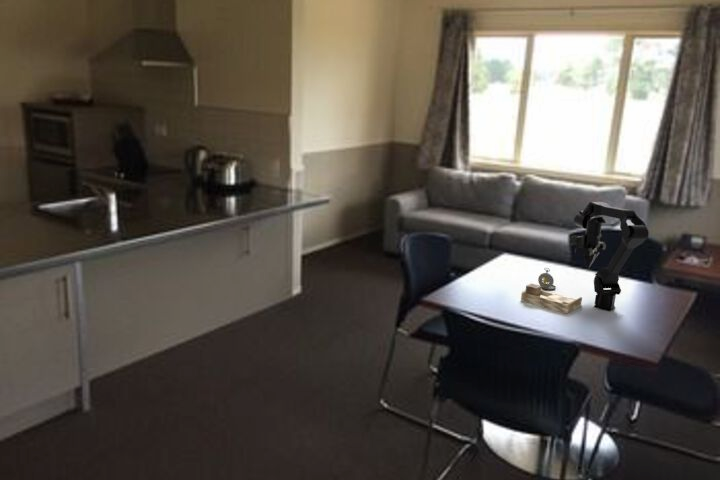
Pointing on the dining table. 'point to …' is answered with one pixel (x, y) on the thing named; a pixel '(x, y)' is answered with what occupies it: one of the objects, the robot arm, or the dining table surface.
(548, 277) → the pocket watch
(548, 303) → the trap box
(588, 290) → the dining table surface
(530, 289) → the block
